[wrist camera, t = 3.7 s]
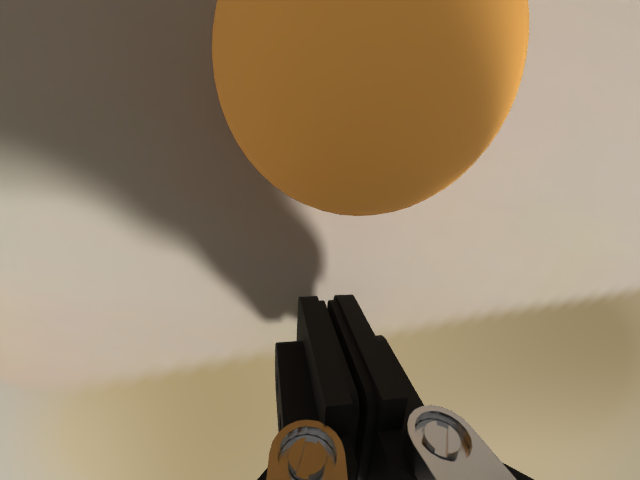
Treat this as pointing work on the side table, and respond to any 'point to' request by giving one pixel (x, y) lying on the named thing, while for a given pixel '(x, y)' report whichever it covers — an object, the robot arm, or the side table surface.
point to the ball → (366, 93)
